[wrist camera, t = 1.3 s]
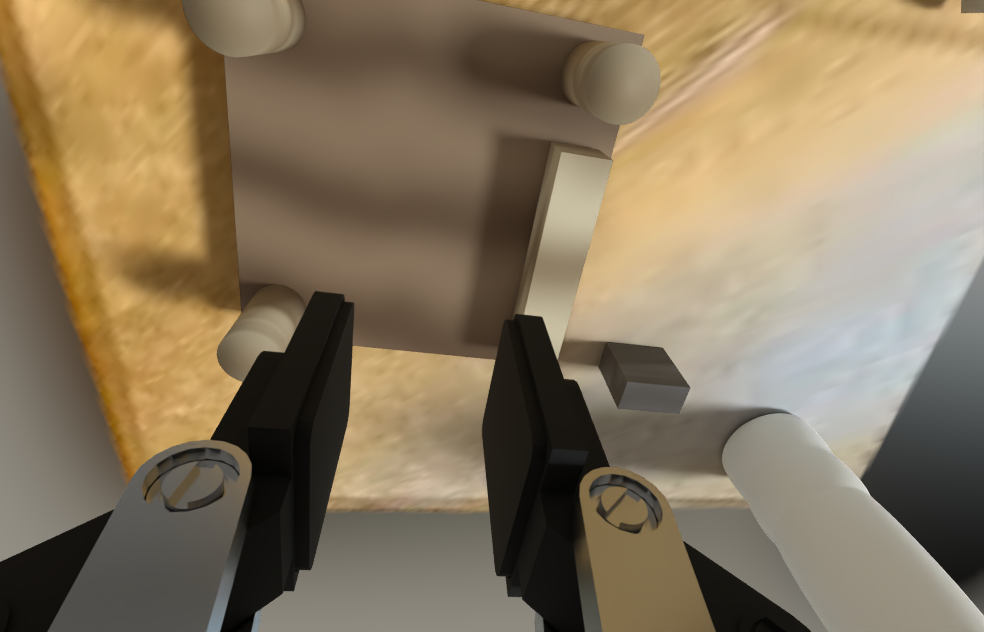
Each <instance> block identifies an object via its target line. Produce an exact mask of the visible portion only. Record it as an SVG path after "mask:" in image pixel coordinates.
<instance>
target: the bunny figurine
mask: <svg viewBox="0 0 984 632" xmlns="http://www.w3.org/2000/svg"><path fill="white" fill-rule="evenodd" d="M961 13H984V0H961Z"/></svg>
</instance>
